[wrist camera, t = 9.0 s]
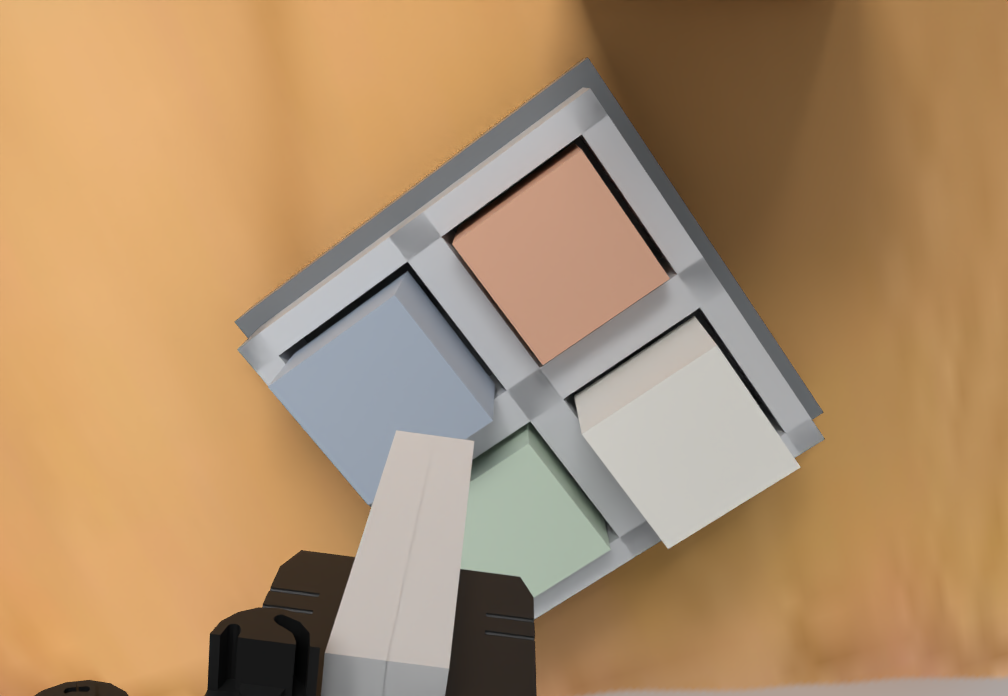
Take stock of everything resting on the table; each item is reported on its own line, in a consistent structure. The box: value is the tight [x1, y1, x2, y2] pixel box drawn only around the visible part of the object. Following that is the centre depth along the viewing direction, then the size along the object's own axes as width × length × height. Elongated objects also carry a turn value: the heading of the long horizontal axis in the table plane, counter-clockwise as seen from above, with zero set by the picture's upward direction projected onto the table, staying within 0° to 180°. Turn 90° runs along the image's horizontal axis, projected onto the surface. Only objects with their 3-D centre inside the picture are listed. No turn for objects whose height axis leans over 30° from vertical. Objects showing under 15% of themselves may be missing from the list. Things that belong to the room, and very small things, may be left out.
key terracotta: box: [452, 143, 670, 365], centre depth 30 cm, size 5×5×4 cm
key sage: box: [460, 422, 611, 597], centre depth 33 cm, size 5×5×4 cm
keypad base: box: [235, 58, 825, 619], centre depth 33 cm, size 16×16×5 cm
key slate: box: [268, 271, 495, 505], centre depth 29 cm, size 5×5×4 cm
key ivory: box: [574, 316, 800, 549], centre depth 30 cm, size 5×5×4 cm
